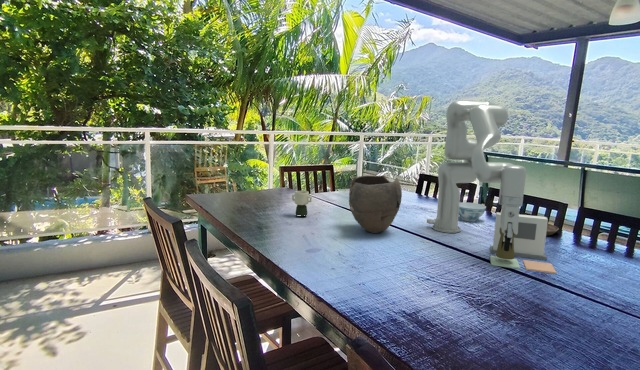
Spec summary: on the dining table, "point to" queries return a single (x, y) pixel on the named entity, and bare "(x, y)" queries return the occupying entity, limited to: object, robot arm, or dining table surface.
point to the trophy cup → (301, 202)
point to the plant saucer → (551, 229)
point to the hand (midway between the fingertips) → (505, 250)
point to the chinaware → (471, 211)
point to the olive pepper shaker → (501, 252)
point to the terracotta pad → (539, 266)
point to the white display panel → (525, 236)
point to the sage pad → (504, 262)
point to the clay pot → (374, 202)
